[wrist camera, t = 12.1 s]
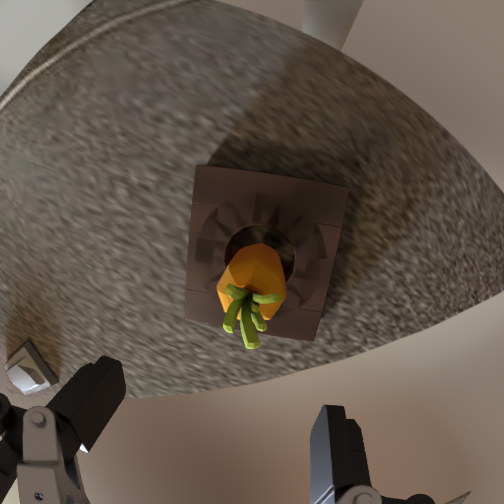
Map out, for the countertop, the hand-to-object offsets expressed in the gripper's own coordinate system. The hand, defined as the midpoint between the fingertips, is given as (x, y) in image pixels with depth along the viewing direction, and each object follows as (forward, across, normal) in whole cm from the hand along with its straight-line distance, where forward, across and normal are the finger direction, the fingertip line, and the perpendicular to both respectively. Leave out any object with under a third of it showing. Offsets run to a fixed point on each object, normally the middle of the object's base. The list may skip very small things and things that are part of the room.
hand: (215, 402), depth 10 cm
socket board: (+21, 0, 0) cm, 21 cm away
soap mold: (+21, +47, +36) cm, 63 cm away
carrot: (+21, 0, 0) cm, 21 cm away
